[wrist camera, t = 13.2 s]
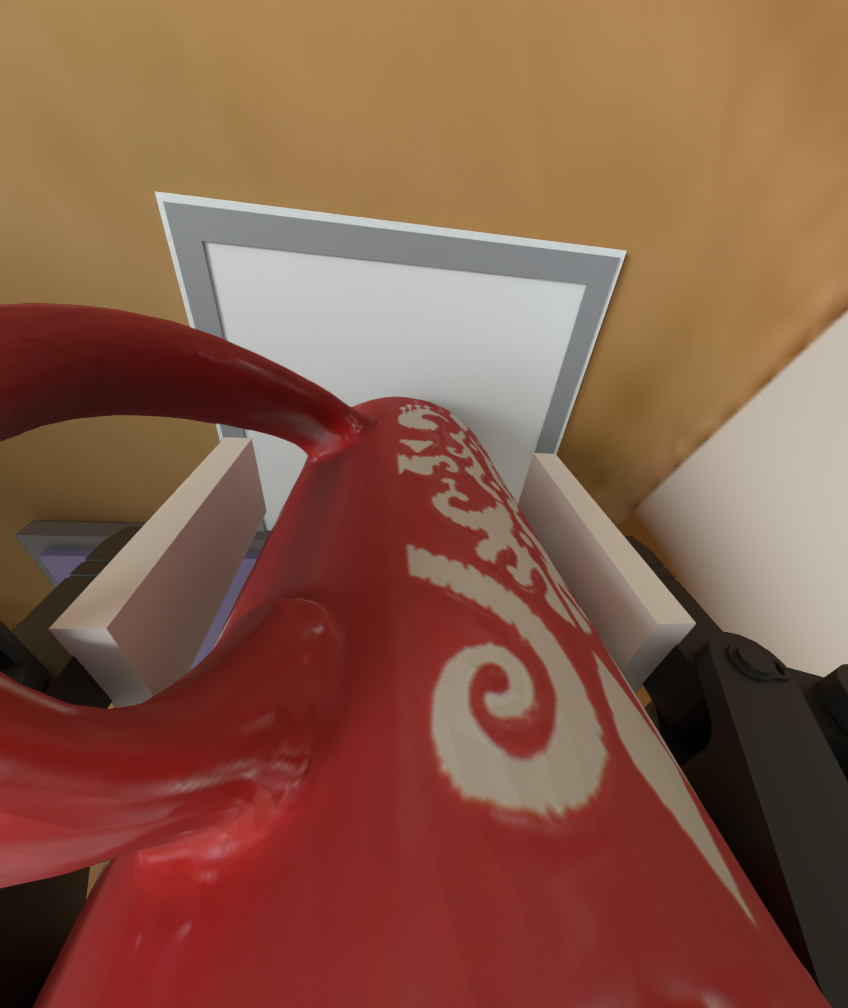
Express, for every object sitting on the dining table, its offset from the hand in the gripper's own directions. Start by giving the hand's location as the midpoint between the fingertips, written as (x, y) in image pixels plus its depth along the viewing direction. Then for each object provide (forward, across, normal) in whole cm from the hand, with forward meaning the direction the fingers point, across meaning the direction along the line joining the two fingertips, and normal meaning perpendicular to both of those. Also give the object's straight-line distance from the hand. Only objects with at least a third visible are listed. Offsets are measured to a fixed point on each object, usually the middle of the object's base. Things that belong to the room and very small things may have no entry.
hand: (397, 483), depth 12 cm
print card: (+4, 0, 0) cm, 4 cm away
